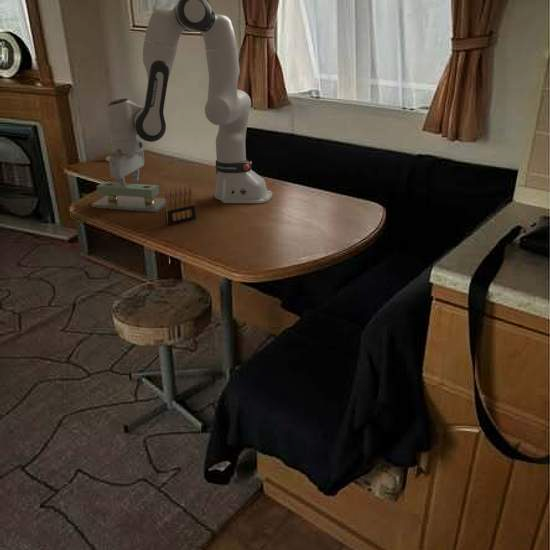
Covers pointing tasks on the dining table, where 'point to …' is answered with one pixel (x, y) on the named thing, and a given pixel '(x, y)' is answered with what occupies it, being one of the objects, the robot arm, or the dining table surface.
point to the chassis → (131, 203)
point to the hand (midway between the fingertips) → (130, 184)
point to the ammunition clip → (179, 207)
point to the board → (128, 190)
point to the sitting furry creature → (108, 158)
